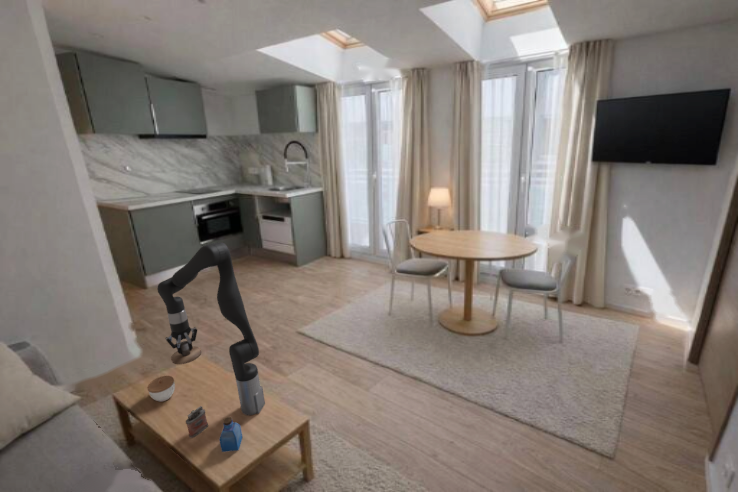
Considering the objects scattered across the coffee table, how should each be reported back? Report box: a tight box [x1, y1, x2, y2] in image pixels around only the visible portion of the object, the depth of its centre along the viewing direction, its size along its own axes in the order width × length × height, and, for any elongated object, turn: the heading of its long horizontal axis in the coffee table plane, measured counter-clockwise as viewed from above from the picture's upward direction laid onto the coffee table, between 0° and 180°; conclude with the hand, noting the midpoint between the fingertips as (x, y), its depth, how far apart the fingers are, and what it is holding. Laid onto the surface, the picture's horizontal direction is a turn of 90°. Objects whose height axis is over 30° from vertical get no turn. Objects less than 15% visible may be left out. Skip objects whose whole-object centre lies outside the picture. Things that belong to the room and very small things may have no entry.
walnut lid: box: [170, 340, 202, 365], centre depth 170 cm, size 13×13×7 cm
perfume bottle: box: [218, 416, 243, 453], centre depth 139 cm, size 6×6×12 cm
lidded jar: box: [146, 375, 176, 402], centre depth 166 cm, size 11×11×9 cm
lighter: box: [185, 405, 209, 439], centre depth 146 cm, size 8×3×10 cm, turn 148°
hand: (185, 351), depth 170 cm, fingers closed on walnut lid, 3 cm apart
